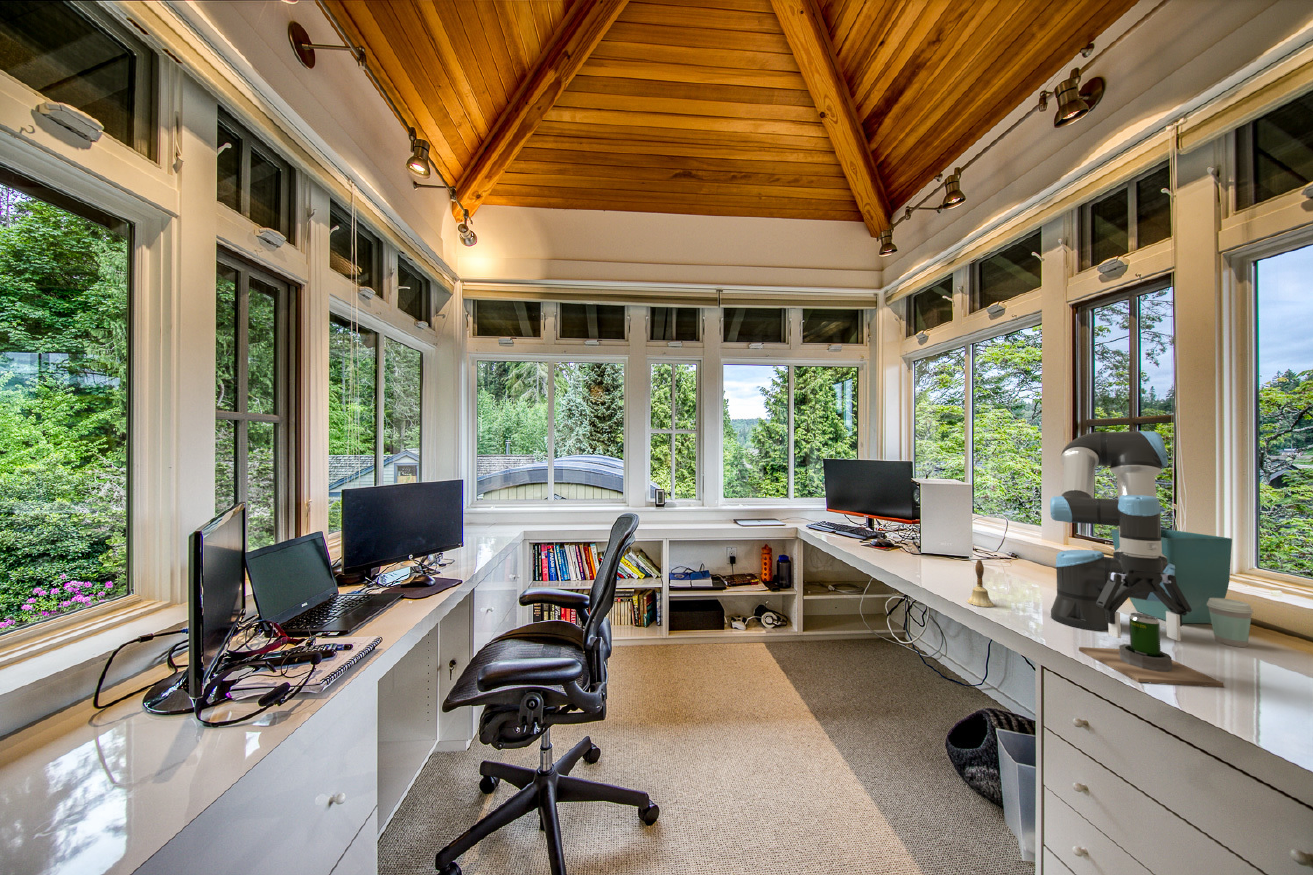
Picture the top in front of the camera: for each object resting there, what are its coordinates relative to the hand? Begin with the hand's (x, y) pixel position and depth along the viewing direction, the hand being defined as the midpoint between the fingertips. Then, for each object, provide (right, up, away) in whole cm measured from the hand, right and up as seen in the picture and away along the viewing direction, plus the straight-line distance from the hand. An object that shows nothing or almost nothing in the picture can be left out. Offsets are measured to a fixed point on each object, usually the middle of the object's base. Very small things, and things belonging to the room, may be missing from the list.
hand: (1143, 637), depth 118 cm
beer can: (0, -7, 0) cm, 7 cm away
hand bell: (-7, -10, +50) cm, 51 cm away
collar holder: (0, -8, 0) cm, 8 cm away
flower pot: (+48, -9, +36) cm, 61 cm away
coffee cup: (+41, -8, +15) cm, 44 cm away
